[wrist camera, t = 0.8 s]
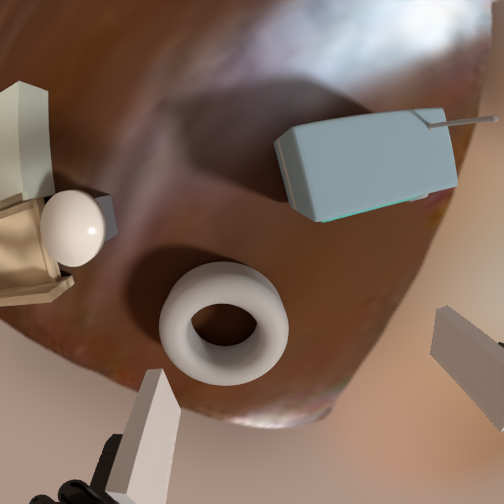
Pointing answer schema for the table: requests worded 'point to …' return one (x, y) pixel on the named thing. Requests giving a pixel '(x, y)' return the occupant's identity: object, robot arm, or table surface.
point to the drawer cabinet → (25, 143)
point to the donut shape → (228, 292)
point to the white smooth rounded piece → (73, 227)
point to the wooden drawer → (26, 256)
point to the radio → (367, 161)
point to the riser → (108, 216)
